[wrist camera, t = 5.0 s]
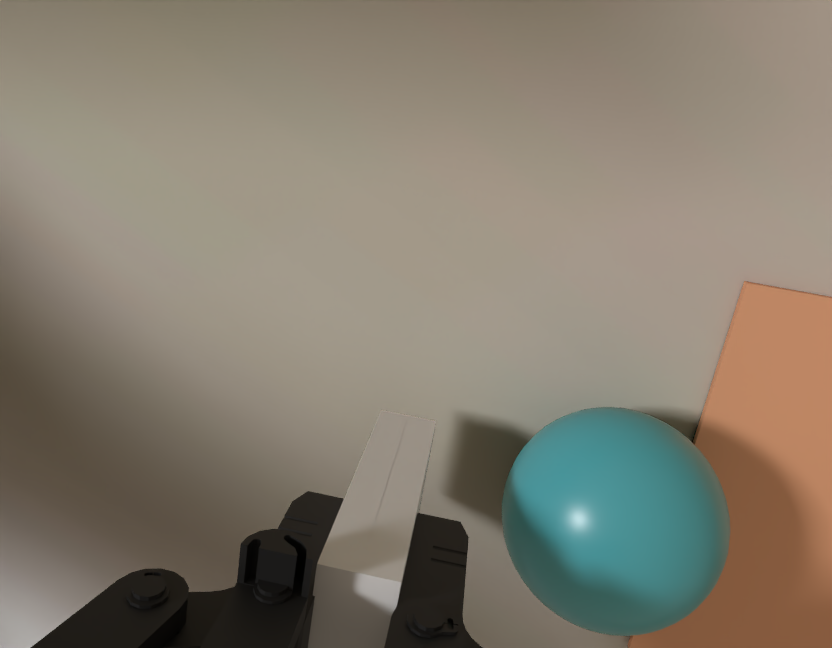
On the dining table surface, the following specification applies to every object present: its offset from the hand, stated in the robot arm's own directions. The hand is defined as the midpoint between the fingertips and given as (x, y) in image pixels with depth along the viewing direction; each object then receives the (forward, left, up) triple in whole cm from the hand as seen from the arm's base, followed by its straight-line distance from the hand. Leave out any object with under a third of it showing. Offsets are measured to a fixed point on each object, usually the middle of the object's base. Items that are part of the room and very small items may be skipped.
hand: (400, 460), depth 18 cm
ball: (+5, -3, +1) cm, 6 cm away
